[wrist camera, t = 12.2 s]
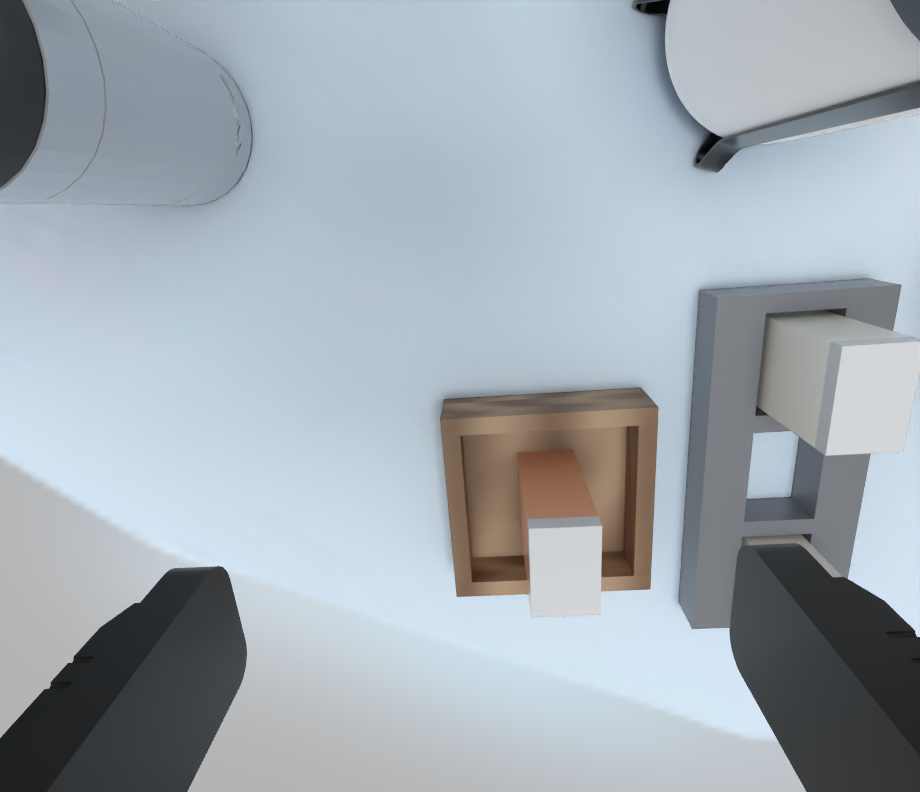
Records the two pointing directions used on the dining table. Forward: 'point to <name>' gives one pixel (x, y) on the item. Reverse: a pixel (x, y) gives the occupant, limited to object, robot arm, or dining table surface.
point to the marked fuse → (559, 535)
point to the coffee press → (789, 67)
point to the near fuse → (838, 381)
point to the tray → (545, 429)
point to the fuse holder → (731, 434)
